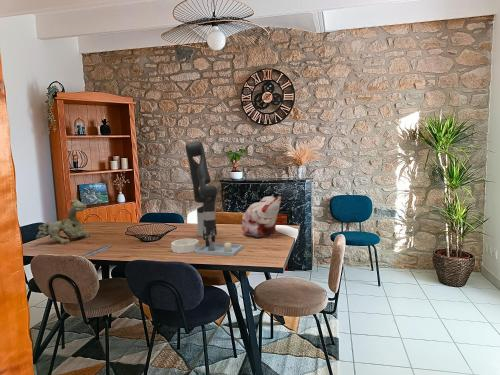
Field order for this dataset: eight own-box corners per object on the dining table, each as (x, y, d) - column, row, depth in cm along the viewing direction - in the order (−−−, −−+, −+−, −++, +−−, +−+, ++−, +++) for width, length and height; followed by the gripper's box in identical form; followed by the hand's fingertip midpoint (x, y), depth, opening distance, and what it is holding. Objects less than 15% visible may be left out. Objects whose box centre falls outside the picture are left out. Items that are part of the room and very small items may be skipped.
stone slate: (209, 248, 227) (209, 241, 227) (216, 249, 226) (215, 241, 225) (206, 250, 223) (206, 242, 222) (213, 251, 222) (212, 243, 221)
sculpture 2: (233, 236, 259) (233, 194, 255) (252, 227, 284) (252, 189, 280) (273, 242, 244) (275, 198, 240) (289, 233, 270) (291, 193, 266)
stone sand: (225, 249, 224) (225, 241, 223) (232, 250, 222) (232, 242, 222) (223, 251, 220) (222, 243, 219) (230, 252, 218) (229, 244, 218)
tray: (207, 246, 235) (207, 242, 235) (243, 248, 228) (242, 244, 227) (195, 254, 218) (194, 250, 218) (232, 257, 211) (232, 252, 210)
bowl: (180, 246, 238) (180, 238, 237) (202, 247, 233) (202, 239, 232) (167, 253, 223) (167, 244, 222) (191, 254, 218) (190, 246, 217)
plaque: (82, 262, 210) (82, 261, 210) (69, 261, 213) (69, 260, 213) (118, 247, 241) (118, 246, 241) (106, 246, 244) (106, 245, 244)
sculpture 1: (74, 246, 242) (60, 203, 238) (41, 254, 248) (26, 211, 244) (100, 233, 270) (88, 194, 267) (70, 240, 276) (57, 202, 272)
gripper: (208, 216, 230) (209, 241, 232) (198, 220, 217) (199, 247, 218) (219, 216, 228) (220, 242, 229) (210, 220, 214) (211, 248, 216)
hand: (210, 244), depth 224 cm, fingers open, 8 cm apart
